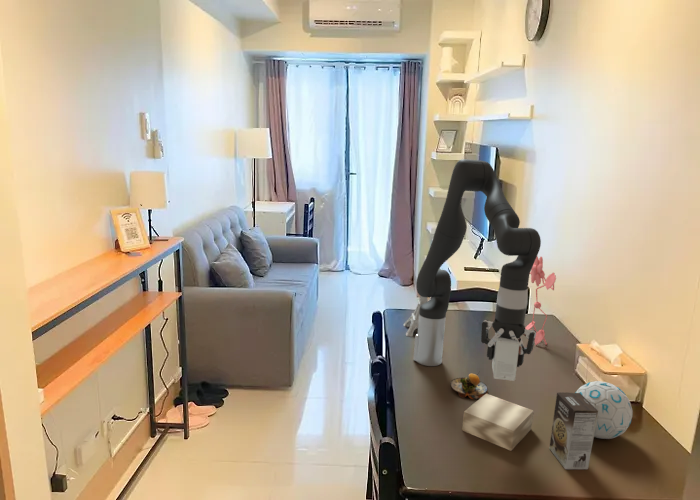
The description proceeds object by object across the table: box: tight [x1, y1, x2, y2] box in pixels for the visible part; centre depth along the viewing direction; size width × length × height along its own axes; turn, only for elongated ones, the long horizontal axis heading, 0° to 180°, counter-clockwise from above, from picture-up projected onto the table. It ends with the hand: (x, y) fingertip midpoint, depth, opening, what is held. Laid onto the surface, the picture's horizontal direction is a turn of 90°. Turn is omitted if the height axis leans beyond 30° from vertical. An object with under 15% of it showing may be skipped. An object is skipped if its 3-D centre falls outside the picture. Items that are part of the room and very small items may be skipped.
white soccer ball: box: [574, 380, 634, 440], centre depth 145 cm, size 15×15×15 cm
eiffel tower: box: [403, 295, 429, 337], centre depth 214 cm, size 13×13×30 cm
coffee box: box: [549, 391, 598, 470], centre depth 133 cm, size 9×6×16 cm
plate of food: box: [449, 371, 489, 400], centre depth 168 cm, size 12×12×8 cm
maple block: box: [461, 393, 534, 451], centre depth 146 cm, size 14×14×6 cm
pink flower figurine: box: [525, 255, 557, 346], centre depth 210 cm, size 15×26×35 cm, turn 2°
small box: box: [491, 331, 519, 382], centre depth 142 cm, size 8×6×10 cm
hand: (504, 362), depth 142 cm, fingers closed on small box, 6 cm apart
